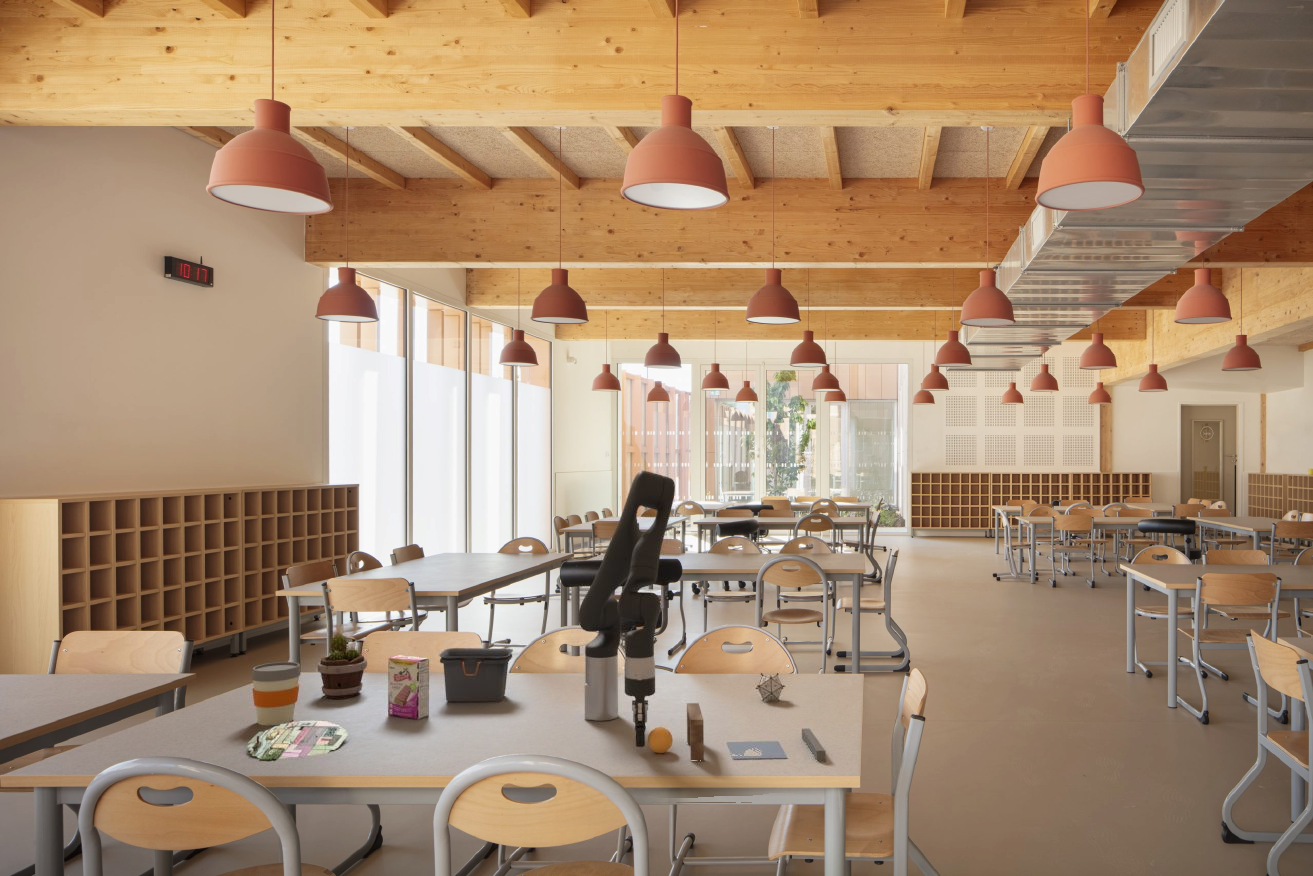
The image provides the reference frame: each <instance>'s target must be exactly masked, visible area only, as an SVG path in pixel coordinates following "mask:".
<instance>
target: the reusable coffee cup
mask: <svg viewBox="0 0 1313 876" xmlns="http://www.w3.org/2000/svg"><path fill="white" fill-rule="evenodd" d="M301 674H302V673H301V665H300V663H299V662H295V661H281V662H280V661H279V662H267V663H263V664H259V665H256V666H254V667H253V668H252V672H251V680H252V682H253V683H252V684H253V688H252V696H253V705H254V706H255V709H256V715H257V717H256V718H257V723H258V725H261V726H280V724H286V723H291V722H293V720H294V714H295V708H296V703H297V702H298V697H299V691H300V683H299V681H300V676H301Z"/></svg>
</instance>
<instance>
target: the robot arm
mask: <svg viewBox="0 0 1313 876" xmlns="http://www.w3.org/2000/svg"><path fill="white" fill-rule="evenodd" d="M675 493H676V483H675V480H674V479H672V478H671V477H669V476H666V475H662V474H658V473H654V472H651V471H647V470H639V471H638V472H637V473H636V474H635V476H634V478H633V480H632V483H631V485H630V488H629V492H628V494H627V498H626V501H625V504H624V508H622V513H621V514H620V515H621V516H620V518H619V520H618V523H617V525H616V528H615V531H614V533H613V535H612V537H611V539H610V541H609V543H608V546H607V548H606V550H605V553H604V556H603V559H602V562H601V564H600V566H599V568H598V570H597V572H596V574H595V577H594V580H593V582H592V583H591V585H590V587H589V589H588V590H587V592H586V594H585V596H584V598H583V600H582V602H581V603H580V607H579V610H578V623H579V625H580V628H581V629H582V630H584V631H585V632H590V633H591V632H592V633H593V632H594V633H595V632H598V633H597V635H596V636H595V637H594V638H593V639H592V640H591V641H589V642H588V643H587V644H586V645H585V648H584V657H585V658H584V663H585V664H584V666H585V667H584V683H585V684H584V720H589V721H599V722H600V721H604V722H605V721H611V720H614V719H617V718H618V717H619V658H618V657H619V647H620V644H621V633H622V632H621V628H622V620H623V621H627V622H644V625H643V627H642V628H640V629H634V630H630V631H628V632H627V633H626V634H625V638H624V639H625V640H624V642H625V643H624V646H625V648H624V649H625V656H624V657H625V658H624V669H623V670H624V694H625V695H627V696H629V697H634V699H635V700H633V699H632V700H631V711H632V722H633V723H634V732H635V746H636V748H644V747H645V746H646V734H645V733H646V729H647V727H646V723H648V710H649V700H648V699H645V698H646V697H650V696H653V695H654V694H655V693H656V662H655V661H656V660H655V633H656V628H657V624H658V620H659V617H660V614H661V610H662V609H661V608H662V604H661V603H662V602H661V599H660V597H659V596H658V594H656V593H655V592H645V591H644V592H642V591H640V590H641V589H642V588H646V587H650V586H653V585H654V584H656V583H657V580H658V576H659V575H658V574H659V573H658V572H659V567H660V565H659V564H660V556H661V550H662V547H663V546H662V545H663V541H664V537H665V534H666V530H667V527H668V524H669V523H668V522H669V520H670V515H671V512H672V509H673V508H672V507H673V504H674V499H675ZM640 507H643V508H647V509H652V510H656V515H655V519H654V521H653V523H652V524H651V526H650V527H649V528H648V529H647V531H645V532H644V534H643V535H642V536H641V532H640V530H639V524H638V518H637V517H638V515H637V514H638V510H639V508H640ZM624 583H625V584H624ZM623 584H624V587H623V588H622V591H621V593H620V595H619V598H618V600H617V599H616V598H615V596H614V597H613V596H611V595H613V593H615V591H616V590H617V589H619V587H620V586H621V585H623Z"/></svg>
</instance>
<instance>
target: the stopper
mask: <svg viewBox="0 0 1313 876" xmlns="http://www.w3.org/2000/svg"><path fill="white" fill-rule="evenodd" d="M801 740H802V741H803V743H804V742H805V743H806V744H805V743H804V744H805V745H807V746H808V747H807V746H806V747H807V749H808V748H809V749H810V750H809V749H808V750H809V752H810V751H811V752H812V753H811V752H810V753H811V755H812V754H813V755H814V756H813V755H812V756H813V758H814V757H815V758H814V759H815V761H816V760H817V761H825V762H826V750H825V748H824V747H823V746H822V744H821V743H820V741H819V740H818V739H817V737H816V735H815V734H814V733H813V731H812V729H810V728H801ZM817 761H816V762H817Z"/></svg>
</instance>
